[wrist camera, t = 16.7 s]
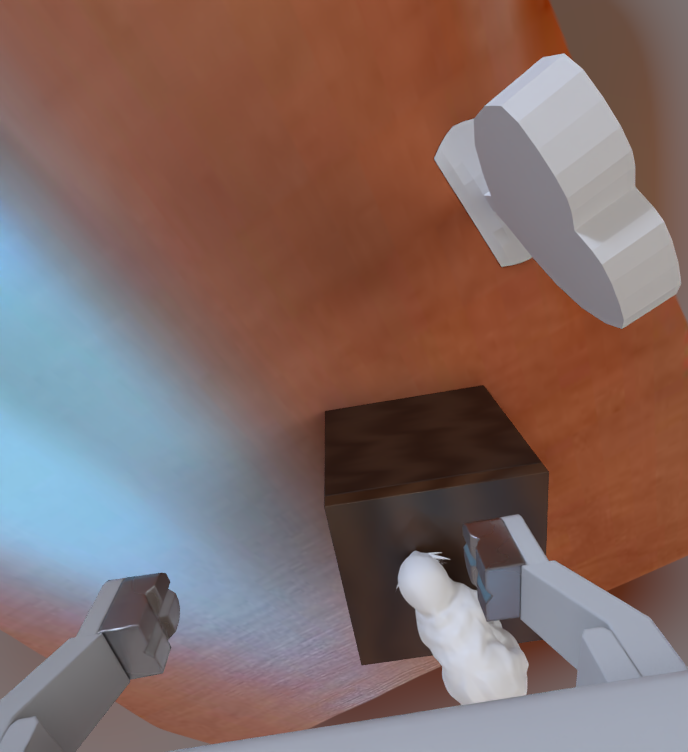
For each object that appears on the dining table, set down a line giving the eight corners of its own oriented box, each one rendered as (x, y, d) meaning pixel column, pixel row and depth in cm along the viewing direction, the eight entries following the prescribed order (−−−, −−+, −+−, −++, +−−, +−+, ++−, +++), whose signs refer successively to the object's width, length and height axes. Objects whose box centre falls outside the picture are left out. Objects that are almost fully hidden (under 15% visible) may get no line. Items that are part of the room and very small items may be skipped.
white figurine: (473, 747, 32) (377, 647, 29) (449, 640, 40) (372, 553, 37) (553, 713, 30) (461, 604, 27) (511, 609, 38) (436, 516, 35)
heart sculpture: (559, 249, 41) (715, 297, 24) (511, 283, 42) (630, 350, 26) (472, 94, 36) (597, 22, 19) (420, 137, 37) (497, 105, 20)
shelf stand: (352, 544, 55) (361, 665, 41) (324, 411, 47) (324, 506, 33) (488, 523, 54) (543, 639, 41) (483, 385, 46) (549, 471, 33)
